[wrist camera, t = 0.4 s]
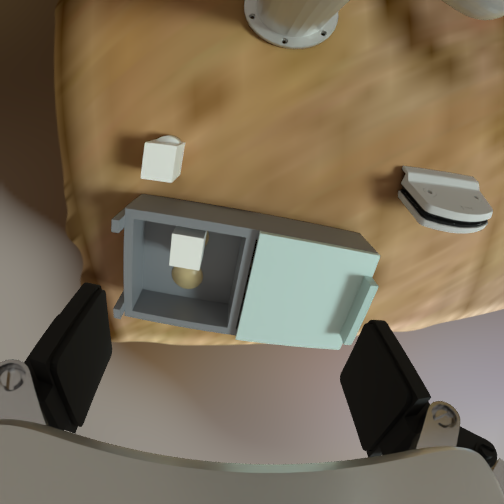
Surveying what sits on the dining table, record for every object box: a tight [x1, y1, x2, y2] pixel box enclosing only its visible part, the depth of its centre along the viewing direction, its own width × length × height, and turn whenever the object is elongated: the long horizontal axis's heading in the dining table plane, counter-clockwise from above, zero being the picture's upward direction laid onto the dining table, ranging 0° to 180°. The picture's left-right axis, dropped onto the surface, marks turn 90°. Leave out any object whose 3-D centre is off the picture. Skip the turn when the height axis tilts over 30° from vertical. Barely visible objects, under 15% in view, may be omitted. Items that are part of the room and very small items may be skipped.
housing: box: [111, 194, 377, 335], centre depth 42 cm, size 16×34×9 cm, turn 79°
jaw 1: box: [141, 135, 185, 183], centre depth 36 cm, size 5×4×6 cm
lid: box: [236, 231, 380, 350], centre depth 39 cm, size 16×16×3 cm
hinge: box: [398, 166, 493, 233], centre depth 38 cm, size 17×5×10 cm, turn 90°
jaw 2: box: [169, 226, 207, 271], centre depth 40 cm, size 5×4×6 cm
